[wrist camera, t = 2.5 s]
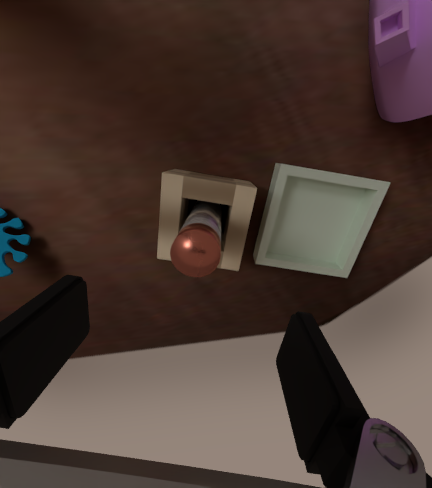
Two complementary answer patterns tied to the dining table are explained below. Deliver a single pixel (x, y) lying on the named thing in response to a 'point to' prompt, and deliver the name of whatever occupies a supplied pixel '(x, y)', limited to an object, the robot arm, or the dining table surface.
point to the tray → (316, 220)
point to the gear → (3, 239)
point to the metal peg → (199, 241)
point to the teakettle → (401, 58)
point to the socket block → (211, 190)
